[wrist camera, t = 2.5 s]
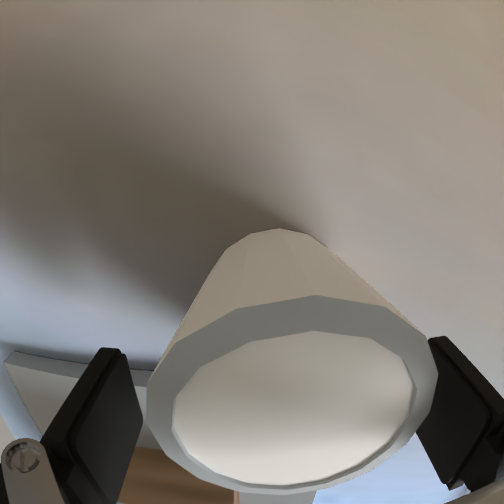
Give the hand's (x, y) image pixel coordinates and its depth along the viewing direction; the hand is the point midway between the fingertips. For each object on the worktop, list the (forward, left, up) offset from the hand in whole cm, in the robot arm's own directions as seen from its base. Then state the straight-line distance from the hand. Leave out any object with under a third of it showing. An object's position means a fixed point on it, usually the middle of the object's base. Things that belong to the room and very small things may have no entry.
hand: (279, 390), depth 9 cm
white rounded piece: (-1, 0, -5) cm, 5 cm away
